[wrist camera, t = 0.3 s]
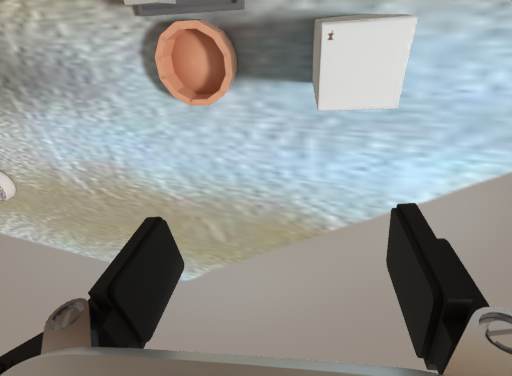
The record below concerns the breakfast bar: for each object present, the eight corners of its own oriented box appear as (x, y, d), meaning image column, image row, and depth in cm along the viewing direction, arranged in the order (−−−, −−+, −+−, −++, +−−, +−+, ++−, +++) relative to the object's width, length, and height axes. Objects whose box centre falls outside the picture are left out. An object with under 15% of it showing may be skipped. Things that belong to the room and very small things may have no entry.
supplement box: (311, 83, 36) (314, 112, 25) (314, 17, 32) (319, 19, 21) (369, 81, 35) (398, 111, 24) (380, 13, 31) (420, 12, 20)
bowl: (160, 22, 35) (146, 23, 32) (233, 17, 33) (226, 18, 30) (176, 99, 40) (165, 106, 37) (240, 97, 38) (235, 105, 35)
